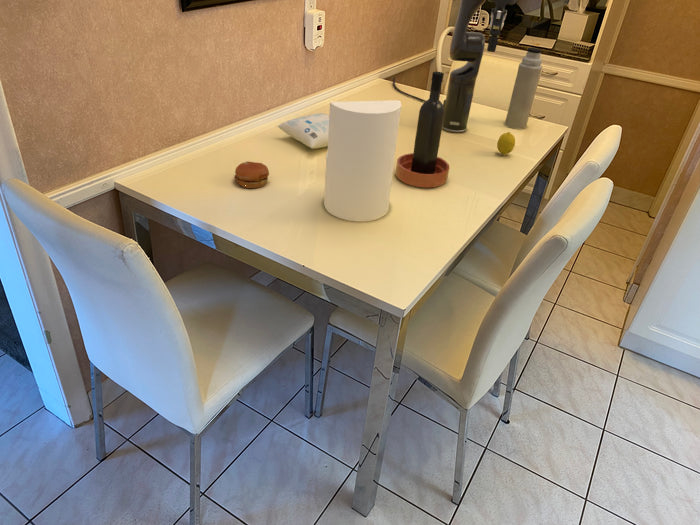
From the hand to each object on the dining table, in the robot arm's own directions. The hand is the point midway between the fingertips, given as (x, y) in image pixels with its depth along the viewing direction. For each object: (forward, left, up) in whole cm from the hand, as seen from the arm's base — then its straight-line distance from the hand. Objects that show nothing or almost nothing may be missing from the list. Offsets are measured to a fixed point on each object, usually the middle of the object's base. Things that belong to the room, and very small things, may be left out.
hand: (491, 48), depth 144 cm
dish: (0, -18, -36) cm, 40 cm away
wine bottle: (0, -18, -36) cm, 40 cm away
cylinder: (+7, -45, -36) cm, 58 cm away
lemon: (-3, +19, -36) cm, 41 cm away
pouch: (-36, -34, -36) cm, 61 cm away
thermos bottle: (-23, +45, -36) cm, 62 cm away
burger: (-17, -65, -36) cm, 76 cm away
